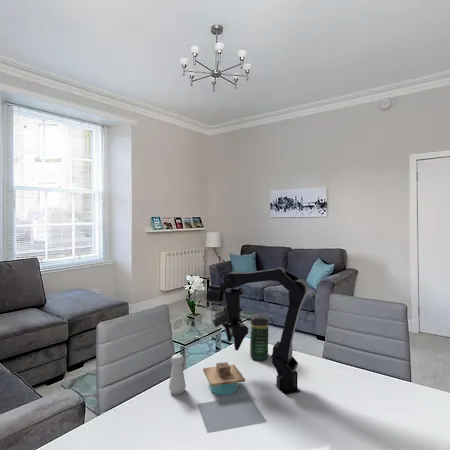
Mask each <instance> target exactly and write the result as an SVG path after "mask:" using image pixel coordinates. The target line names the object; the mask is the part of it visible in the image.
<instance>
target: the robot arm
mask: <svg viewBox="0 0 450 450" xmlns="http://www.w3.org/2000/svg"><path fill="white" fill-rule="evenodd" d="M273 280H274V281H276V280H277V281H278V282H279V283H280V285H282V287H283V288H284V289H285V290H287V291H288V308H287V312H286V315H285V320H284V321H285V322H284V325H283V330H282V332H281V337H280V341H277V342H276V343H275V344H274V345H273V347H272V354H271V355H270V358H271V364H273V365H272V366H273V367H274V368H275V370H276V373H277V374H276V380H275V381H276V384H275V386H276V388H277V389H278V390H279V391H280V392H281V393H282V394H284V395H289V394H294V393H295V394H297V393H300V392H301V390H300V389H299V388H298V378H299V377H298V374H299V373H298V372H297V371H296V370H297V368H298V366H299V362H298V361H297V360H296V359H295V358H294V356H293V351H294V348H293V340H294V335H295V331H296V328H297V324H298V320H299V316H300V312H301V307H302V305H303V303H304V302H305V299H306V297H307V295H308V293H309V290H310V285H309V282H308V281H306V280H305V279H304V278H303V279H302V278H299V277H298V276H296V275H294V274H293V273H291V272H289V271H288V270H286V269H285V268H284V267H281V266H278V267H277V268H271V269H263V270H258V271H257V270H256V271H251V272H248V271H247V272H246V271H237V270H235V271H231V272H229V273H226V274H225V276H224V277H223V281H222V282H221V284H220V285H216V284H209V285H208V289H207V292H206V294H205V297H206V302H207V303H210V304H211V303H213V304H224V302H225V305H224V307H223V310H222V311H219V312H216V313H214V314H212V315H211V316H210V320H211V323H212V325H213V326H214V327H215V328H218V327H219V326H223V328H224V331H225V335H226V339H227V342H229V343H230V342H232V339H233V346H234V350H235V351H239V349H240V347H241V345H242V343H243V341H244V339H245V337H246V336H247V335H248V334H249V327H248V326H247V325H246V324H244V323H243V319H242V318H241V312H243V308H242V307H241V297H242V295H245V294H246V293H247V291H246V290H245V289H244V288H243V287H242V286H244V285H247V284H251V283H260V282H261V283H262V282H266V281H267V282H269V281H273ZM237 287H239V288H237ZM228 289H230V290H228Z"/></svg>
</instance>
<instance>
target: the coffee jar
mask: <svg viewBox="0 0 450 450" xmlns="http://www.w3.org/2000/svg"><path fill="white" fill-rule="evenodd" d="M249 337H250V339H249V340H250V341H249V342H250V343H249V344H250V346H249V347H250V348H249V349H250V350H249V352H250V353H249V356H250V358H251V359H252V360H256V361H265V360H267V359H268V357H269V317H268V316H267V315H266V314H265V313H264V312H261V313H260V312H254V313H253V314H251V317H250V335H249Z"/></svg>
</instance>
